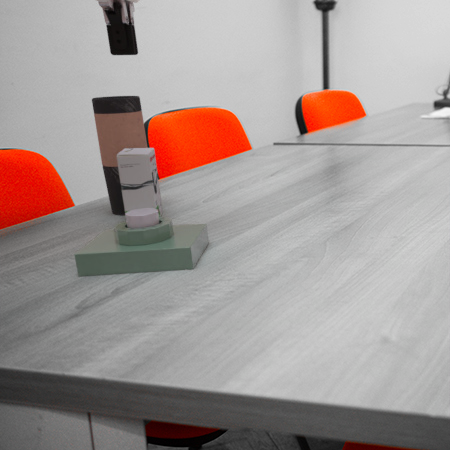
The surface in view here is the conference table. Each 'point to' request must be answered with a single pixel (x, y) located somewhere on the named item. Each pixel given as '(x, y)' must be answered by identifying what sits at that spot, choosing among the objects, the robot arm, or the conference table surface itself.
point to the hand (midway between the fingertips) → (124, 54)
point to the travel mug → (117, 138)
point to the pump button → (142, 218)
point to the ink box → (139, 179)
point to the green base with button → (143, 249)
